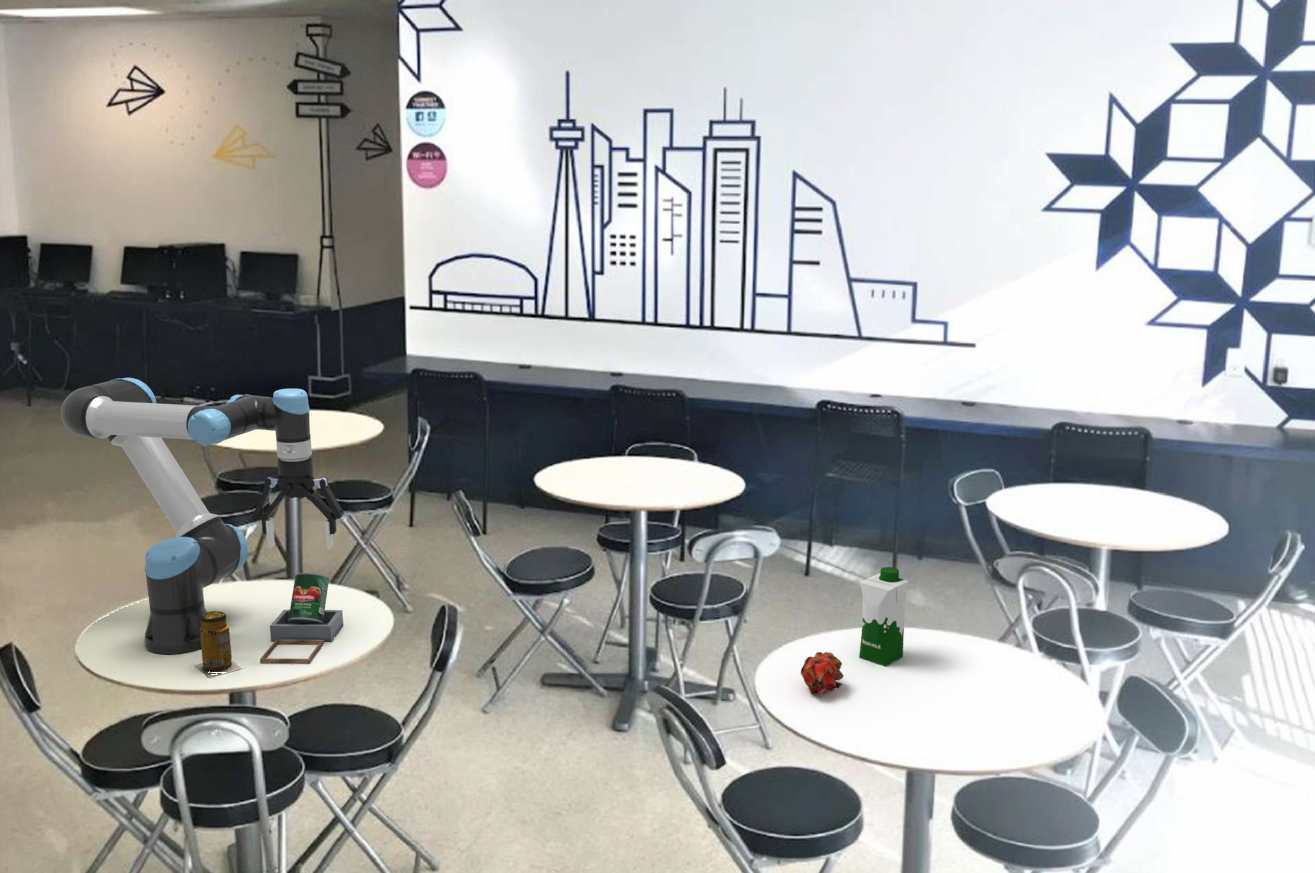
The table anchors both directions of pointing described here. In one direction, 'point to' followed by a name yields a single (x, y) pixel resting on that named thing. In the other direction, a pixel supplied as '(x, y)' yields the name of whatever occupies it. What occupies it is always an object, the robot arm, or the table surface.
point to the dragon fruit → (822, 672)
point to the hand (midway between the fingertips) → (300, 546)
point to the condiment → (215, 644)
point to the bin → (307, 627)
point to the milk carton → (883, 617)
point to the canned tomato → (308, 599)
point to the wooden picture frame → (292, 660)
